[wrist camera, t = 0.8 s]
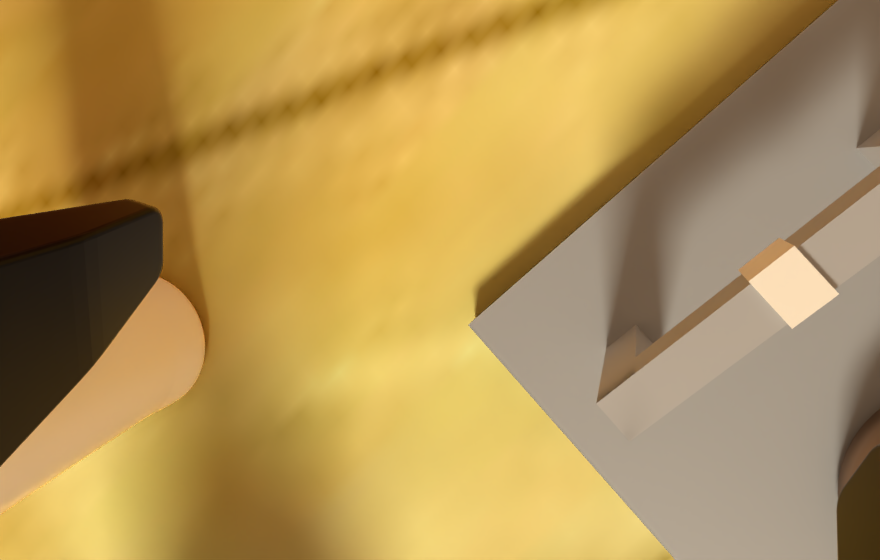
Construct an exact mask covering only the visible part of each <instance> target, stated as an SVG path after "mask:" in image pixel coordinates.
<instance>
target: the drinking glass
mask: <svg viewBox="0 0 880 560" xmlns="http://www.w3.org/2000/svg"><path fill="white" fill-rule="evenodd" d="M204 357H205V337H204V331H203V327H202V324H201V321H200V318H199V316H198V314H197V312H196V310H195V308H194V307H193V305H192V304H191V302H190V301H189V299H188V298H187V297H186V296H185V295H184V294H183V293H182V292H181V291H180V290H179V289H178V288H177V287H175V286H174V285H173V284H171V283H170V282H168V281H166V280H164V279H162V278H160V277H159V278H158V280H157V282H156V283H155V284H154V286H153V287H152V289H151V290H150V291H149V293H148V294H147V295H146V297H145V298H144V299H143V301H142V302H141V303H140V305H139V306H138V307H137V309H136V310H135V311H134V313H133V314H132V316H131V317H130V318H129V320H128V321H127V322H126V324H125V325H124V326H123V328H122V329H121V330H120V332H119V333H118V334H117V336H116V337H115V338H114V340H113V341H112V343H111V344H110V345H109V347H108V348H107V349H106V351H105V352H104V353H103V355H102V356H101V357H100V358H99V360H98V361H97V362H96V363H95V365H94V366H93V367H92V368H91V369H90V370H89V372H88V373H87V374H86V375H85V376H84V377H83V378H82V379H81V381H80V382H79V383H78V384H77V385H76V386H75V387H74V388H73V389H72V390H71V391H70V392H69V394H68V395H67V396H66V397H65V398H64V399H63V400H62V401H61V402H60V403H59V404H58V405H57V406H56V408H55V409H54V410H53V411H52V412H51V413H50V414H49V415H48V416H47V417H46V418H45V419H44V420H43V421H42V423H41V424H40V425H39V426H38V427H37V428H36V429H35V430H34V431H33V432H32V433H31V434H30V435H29V437H28V438H27V439H26V440H25V441H24V442H23V443H22V444H21V445H20V446H19V447H18V448H17V449H16V451H15V452H14V453H13V454H12V455H11V456H10V457H9V458H8V459H7V460H6V461H5V462H4V463H3V465H2V466H1V467H0V515H1V514H3V513H4V512H6V511H7V510H9V509H10V508H12V507H13V506H15V505H16V504H18V503H19V502H20V501H22V500H23V499H25V498H26V497H28V496H29V495H31V494H32V493H34V492H35V491H37V490H38V489H40V488H41V487H43V486H44V485H46V484H47V483H49V482H50V481H52V480H53V479H55V478H56V477H58V476H59V475H61V474H62V473H64V472H65V471H66V470H68V469H69V468H71V467H72V466H74V465H75V464H77V463H78V462H80V461H81V460H83V459H84V458H86V457H87V456H89V455H90V454H92V453H93V452H95V451H96V450H98V449H99V448H101V447H102V446H104V445H105V444H107V443H108V442H110V441H112V440H113V439H115V438H116V437H118V436H119V435H121V434H122V433H124V432H125V431H127V430H128V429H130V428H131V427H133V426H134V425H136V424H137V423H139V422H140V421H142V420H144V419H145V418H147V417H148V416H150V415H152V414H154V413H156V412H158V411H160V410H162V409H164V408H166V407H167V406H169V405H171V404H173V403H175V402H176V401H178V400H179V399H181V398H182V397H183V396H184V395H185V394H186V393H187V392H188V391H189V390H190V389H191V388H192V386H193V385H194V384H195V382H196V380H197V379H198V377H199V374H200V372H201V369H202V366H203V362H204Z"/></svg>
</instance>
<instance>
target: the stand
mask: <svg viewBox="0 0 880 560" xmlns="http://www.w3.org/2000/svg"><path fill="white" fill-rule="evenodd" d="M469 326H470V328H471V329H472V330H473V331H474V332H475V333H476V334H477V336H478V337H479V338H480V339H481V340H482V341H483V342H484V343H485V345H486V346H487V347H488V348H489V349H490V350H491V351H492V353H493V354H494V355H495V356H496V357H497V358H498V359H499V360H500V362H501V363H502V364H503V365H504V366H505V367H506V368H507V370H508V371H509V372H510V373H511V374H512V375H513V376H514V377H515V379H516V380H517V381H518V382H519V383H520V384H521V385H522V387H523V388H524V389H525V390H526V391H527V392H528V393H529V394H530V396H531V397H532V398H533V399H534V400H535V401H536V402H537V404H538V405H539V406H540V407H541V408H542V409H543V410H544V411H545V413H546V414H547V415H548V416H549V417H550V418H551V419H552V421H553V422H554V423H555V424H556V425H557V426H558V427H559V429H560V430H561V431H562V432H563V433H564V434H565V435H566V436H567V438H568V439H569V440H570V441H571V442H572V443H573V444H574V446H575V447H576V448H577V449H578V450H579V451H580V452H581V453H582V455H583V456H584V457H585V458H586V459H587V460H588V461H589V463H590V464H591V465H592V466H593V467H594V468H595V469H596V470H597V472H598V473H599V474H600V475H601V476H602V477H603V478H604V480H605V481H606V482H607V483H608V484H609V485H610V486H611V487H612V489H613V490H614V491H615V492H616V493H617V494H618V495H619V497H620V498H621V499H622V500H623V501H624V502H625V503H626V504H627V506H628V507H629V508H630V509H631V510H632V511H633V512H634V514H635V515H636V516H637V517H638V518H639V519H640V520H641V522H642V523H643V524H644V525H645V526H646V527H647V528H648V529H649V531H650V532H651V533H652V534H653V535H654V536H655V537H656V539H657V540H658V541H659V542H660V543H661V544H662V545H663V546H664V548H665V549H666V550H667V551H668V552H669V553H670V554H671V556H672V557H673V558H674V559H675V560H838V554H837V515H836V509H837V501H838V478H839V473H840V468H841V464H842V461H843V459H844V456H845V453H846V450H847V449H848V447H849V445H850V443H851V441H852V439H853V438H854V436H855V435H856V433H857V432H858V431H859V429H860V428H861V427H862V425H863V424H864V423H865V422H866V421H867V420H868V419H869V418H870V417H871V416H872V415H873V414H874V413H875V412H876V411H878V410H879V409H880V0H838V1H836V2H835V3H834V4H833V5H832V6H831V7H830V8H828V9H827V10H826V11H825V12H824V13H823V14H822V15H821V16H819V17H818V18H817V19H816V20H815V21H814V22H813V23H811V24H810V25H809V26H808V27H807V28H806V29H805V30H803V31H802V32H801V33H800V34H799V35H798V36H797V37H795V38H794V39H793V40H792V41H791V42H790V43H789V44H787V45H786V46H785V47H784V48H783V49H782V50H781V51H779V52H778V53H777V54H776V55H775V56H774V57H773V58H771V59H770V60H769V61H768V62H767V63H766V64H765V65H764V66H762V67H761V68H760V69H759V70H758V71H757V72H756V73H754V74H753V75H752V76H751V77H750V78H749V79H748V80H746V81H745V82H744V83H743V84H742V85H741V86H740V87H738V88H737V89H736V90H735V91H734V92H733V93H732V94H730V95H729V96H728V97H727V98H726V99H725V100H724V101H722V102H721V103H720V104H719V105H718V106H717V107H716V108H714V109H713V110H712V111H711V112H710V113H709V114H708V115H707V116H705V117H704V118H703V119H702V120H701V121H700V122H699V123H697V124H696V125H695V126H694V127H693V128H692V129H691V130H689V131H688V132H687V133H686V134H685V135H684V136H683V137H681V138H680V139H679V140H678V141H677V142H676V143H675V144H673V145H672V146H671V147H670V148H669V149H668V150H667V151H665V152H664V153H663V154H662V155H661V156H660V157H659V158H658V159H656V160H655V161H654V162H653V163H652V164H651V165H650V166H648V167H647V168H646V169H645V170H644V171H643V172H642V173H640V174H639V175H638V176H637V177H636V178H635V179H634V180H632V181H631V182H630V183H629V184H628V185H627V186H626V187H624V188H623V189H622V190H621V191H620V192H619V193H618V194H616V195H615V196H614V197H613V198H612V199H611V200H610V201H608V202H607V203H606V204H605V205H604V206H603V207H602V208H601V209H599V210H598V211H597V212H596V213H595V214H594V215H593V216H591V217H590V218H589V219H588V220H587V221H586V222H585V223H583V224H582V225H581V226H580V227H579V228H578V229H577V230H575V231H574V232H573V233H572V234H571V235H570V236H569V237H567V238H566V239H565V240H564V241H563V242H562V243H561V244H559V245H558V246H557V247H556V248H555V249H554V250H553V251H551V252H550V253H549V254H548V255H547V256H546V257H545V258H544V259H542V260H541V261H540V262H539V263H538V264H537V265H536V266H534V267H533V268H532V269H531V270H530V271H529V272H528V273H526V274H525V275H524V276H523V277H522V278H521V279H520V280H518V281H517V282H516V283H515V284H514V285H513V286H512V287H510V288H509V289H508V290H507V291H506V292H505V293H504V294H502V295H501V296H500V297H499V298H498V299H497V300H496V301H494V302H493V303H492V304H491V305H490V306H489V307H488V308H487V309H485V310H484V311H483V312H482V313H481V314H480V315H479V316H477V317H476V318H475V319H474V320H473V321H472V322H471V323H470V324H469Z"/></svg>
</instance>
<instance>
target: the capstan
mask: <svg viewBox="0 0 880 560" xmlns="http://www.w3.org/2000/svg"><path fill="white" fill-rule="evenodd" d="M878 444H880V409H879V410H878V411H876V412H875V413H874V414H873V415H872V416H871V417H870V418H869V419H868V420H867V421H866V422H865V423H864V424H863V425H862V427H861V428H860V429H859V431H858V432H857V433H856V435H855V436H854V438H853V439H852V441H851V443H850V445H849V447H848V449H847V450H846V453H845V456H844V459H843V461H842V464H841V468H840V473H839V478H838V498H839V495H840V493H841V490H842V489H843V487H844V486H845V484H846V483H847V482H848V480H849V479H850V478H851V476H852V475H853V473H854V472H855V471H856V469H857V468H858V467H859V465H860V464H861V463H862V461H863V460H864V459H865V457H866V456H867V454H868V453H869V452H870V451H871V450H872V448H873V447H875V446H876V445H878Z"/></svg>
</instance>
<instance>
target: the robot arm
mask: <svg viewBox="0 0 880 560" xmlns="http://www.w3.org/2000/svg"><path fill="white" fill-rule="evenodd" d="M162 266H163V220H162V215H161V213H160V211H159V210H158V209H157V208H155V207H153V206H150V205H147V204H144V203H141V202H138V201H134V200H130V199H124V200H118V201H112V202H105V203H99V204H92V205H86V206H80V207H73V208H67V209H60V210H54V211H48V212H41V213H35V214H28V215H22V216H16V217H9V218H3V219H0V467H1V466H2V465H3V463H4V462H5V461H6V460H7V459H8V458H9V457H10V456H11V455H12V454H13V453H14V452H15V451H16V449H17V448H18V447H19V446H20V445H21V444H22V443H23V442H24V441H25V440H26V439H27V438H28V437H29V435H30V434H31V433H32V432H33V431H34V430H35V429H36V428H37V427H38V426H39V425H40V424H41V423H42V421H43V420H44V419H45V418H46V417H47V416H48V415H49V414H50V413H51V412H52V411H53V410H54V409H55V408H56V406H57V405H58V404H59V403H60V402H61V401H62V400H63V399H64V398H65V397H66V396H67V395H68V394H69V392H70V391H71V390H72V389H73V388H74V387H75V386H76V385H77V384H78V383H79V382H80V381H81V379H82V378H83V377H84V376H85V375H86V374H87V373H88V372H89V370H90V369H91V368H92V367H93V366H94V365H95V363H96V362H97V361H98V360H99V358H100V357H101V356H102V355H103V353H104V352H105V351H106V349H107V348H108V347H109V345H110V344H111V343H112V341H113V340H114V338H115V337H116V336H117V334H118V333H119V332H120V330H121V329H122V328H123V326H124V325H125V324H126V322H127V321H128V320H129V318H130V317H131V316H132V314H133V313H134V311H135V310H136V309H137V307H138V306H139V305H140V303H141V302H142V301H143V299H144V298H145V297H146V295H147V294H148V293H149V291H150V290H151V289H152V287H153V286H154V284H155V283H156V282H157V280H158V278H159V276H160V274H161V271H162ZM836 515H837V554H838V560H880V444H878V445H876V446H875V447H873V448H872V450H871V451H870V452H869V453H868V454H867V456H866V457H865V459H864V460H863V461H862V463H861V464H860V465H859V467H858V468H857V469H856V471H855V472H854V473H853V475H852V476H851V478H850V479H849V480H848V482H847V483H846V484H845V486H844V487H843V489H842V490H841V493H840V495H839V498H838V501H837V509H836Z"/></svg>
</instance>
